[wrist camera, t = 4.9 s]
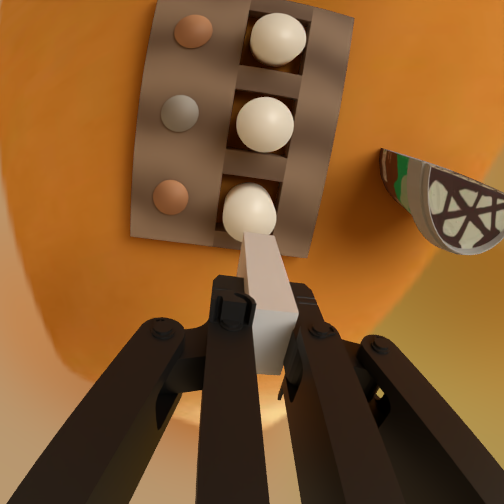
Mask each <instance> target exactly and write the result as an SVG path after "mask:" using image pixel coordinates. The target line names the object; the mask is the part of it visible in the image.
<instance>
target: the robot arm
mask: <svg viewBox="0 0 504 504" xmlns="http://www.w3.org/2000/svg"><path fill="white" fill-rule="evenodd" d="M283 365H284V369H285V376H284V379H283V382H282V385H281V388H280V391H279V394H278V400H281V398H282V395H283V393H284V399H285V405H286V411H287V417H288V423H289V429H290V435H291V442H292V448H293V454H294V460H295V466H296V472H297V478H298V485H299V491H300V497H301V503H302V504H504V470H503V469H502V468H501V467H500V465H499V464H498V463H497V461H496V460H495V459H494V458H493V457H492V455H491V454H490V453H489V452H488V451H487V449H486V448H485V447H484V445H483V444H482V443H481V442H480V441H479V439H477V437H476V436H475V435H474V434H473V432H472V431H471V430H470V429H469V428H468V426H467V425H466V424H465V423H464V422H463V421H462V419H461V418H460V417H459V416H458V415H457V414H456V412H455V411H454V410H453V409H452V408H451V407H450V406H449V404H448V403H447V402H446V401H445V400H444V399H443V397H441V395H440V394H439V393H438V392H437V391H436V389H435V388H434V387H433V386H432V385H431V384H430V383H429V382H428V381H427V379H426V378H425V377H424V376H423V375H422V374H421V373H420V372H419V370H418V369H417V368H416V367H415V366H414V365H413V364H412V363H411V362H410V360H409V359H408V358H407V357H406V356H405V355H404V354H403V353H402V352H401V351H400V350H399V348H398V347H397V346H396V345H395V344H394V343H393V342H391V341H390V340H389V339H387V338H385V337H383V336H379V335H368V336H365V337H364V338H363V339H362V341H361V344H357V343H353V342H349V341H346V340H343V339H341V337H340V335H339V333H338V331H337V330H336V328H335V327H333V326H332V325H330V324H329V323H326V322H324V319H323V317H322V314H321V312H320V310H319V307H318V305H317V302H316V300H315V297H314V295H313V293H312V290H311V289H309V288H308V287H307V286H306V285H305V284H302V283H293V282H289V280H288V277H287V274H286V270H285V267H284V264H283V261H282V258H281V255H280V252H279V249H278V245H277V242H276V239H275V236H274V235H266V234H259V233H252V232H244V233H243V239H242V245H241V251H240V258H239V264H238V270H237V276H236V277H233V276H225V275H218V276H217V277H216V278H215V279H214V280H213V287H212V295H211V304H210V313H209V319H208V321H207V322H206V323H205V324H204V325H202V326H200V327H197V328H193V329H184V327H183V326H182V325H181V324H180V323H179V322H177V321H175V320H173V319H169V318H164V317H161V318H153V319H150V320H147V321H146V322H145V323H143V324H142V325H141V327H140V328H139V329H138V330H137V331H136V333H135V334H134V335H133V336H132V338H131V339H130V340H129V341H128V342H127V344H126V345H125V346H124V347H123V349H122V350H121V351H120V352H119V354H118V355H117V356H116V357H115V359H114V360H113V361H112V362H111V364H110V365H109V366H108V367H107V369H106V370H105V371H104V373H103V374H102V375H101V376H100V378H99V379H98V380H97V381H96V383H95V384H94V385H93V387H92V388H91V389H90V390H89V392H88V393H87V394H86V396H85V397H84V398H83V400H82V401H81V402H80V403H79V405H78V406H77V407H76V409H75V410H74V411H73V412H72V414H71V415H70V417H69V418H68V419H67V420H66V422H65V423H64V424H63V426H62V427H61V428H60V430H59V431H58V433H57V434H56V435H55V437H54V438H53V439H52V441H51V442H50V443H49V445H48V446H47V447H46V449H45V450H44V451H43V453H42V454H41V455H40V457H39V458H38V460H37V461H36V462H35V464H34V465H33V467H32V468H31V469H30V471H29V472H28V474H27V475H26V476H25V478H24V479H23V481H22V482H21V484H20V485H19V486H18V488H17V489H16V491H15V492H14V494H13V495H12V497H11V498H10V499H9V501H8V502H7V504H129V501H130V500H131V498H132V496H133V494H134V492H135V490H136V488H137V486H138V483H139V481H140V480H141V477H142V475H143V474H144V471H145V469H146V467H147V465H148V463H149V461H150V459H151V457H152V455H153V453H154V451H155V449H156V447H157V445H158V443H159V441H160V439H161V437H162V435H163V433H164V431H165V429H166V427H167V425H168V423H169V421H170V419H171V417H172V415H173V413H174V411H175V409H176V407H177V405H178V403H179V401H180V398H181V396H182V393H183V392H191V391H198V390H202V399H201V413H200V427H199V443H198V460H197V478H196V501H195V504H270V503H269V493H268V483H267V475H266V464H265V455H264V444H263V434H262V424H261V414H260V404H259V393H258V383H257V374H266V375H280V374H281V371H282V368H283ZM379 388H381V390H382V391H383V392H384V395H383V397H382V398H379V397H378V396H377V394H376V393H377V391H378V389H379Z"/></svg>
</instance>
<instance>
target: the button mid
mask: <svg viewBox="0 0 504 504" xmlns="http://www.w3.org/2000/svg"><path fill="white" fill-rule="evenodd" d="M236 128H237V132H238V135H239V137H240V139H241V140H242V142H243V143H244V144H245V145H246V146H247V147H249V148H250V149H252V150H255V151H258V152H272V151H276V150H278V149H280V148H281V147H283V146H284V145H285V144H286V143H287V142H288V141H289V139H290V138H291V136H292V133H293V128H294V121H293V117H292V114H291V112H290V110H289V109H288V108H287V106H286V105H285V104H283V103H282V102H281V101H279V100H277V99H274V98H270V97H260V98H256V99H253V100H251V101H249V102H248V103H247V104H245V105H244V106H243V107H242V109H241V110H240V111H239V113H238V116H237V121H236Z"/></svg>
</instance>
